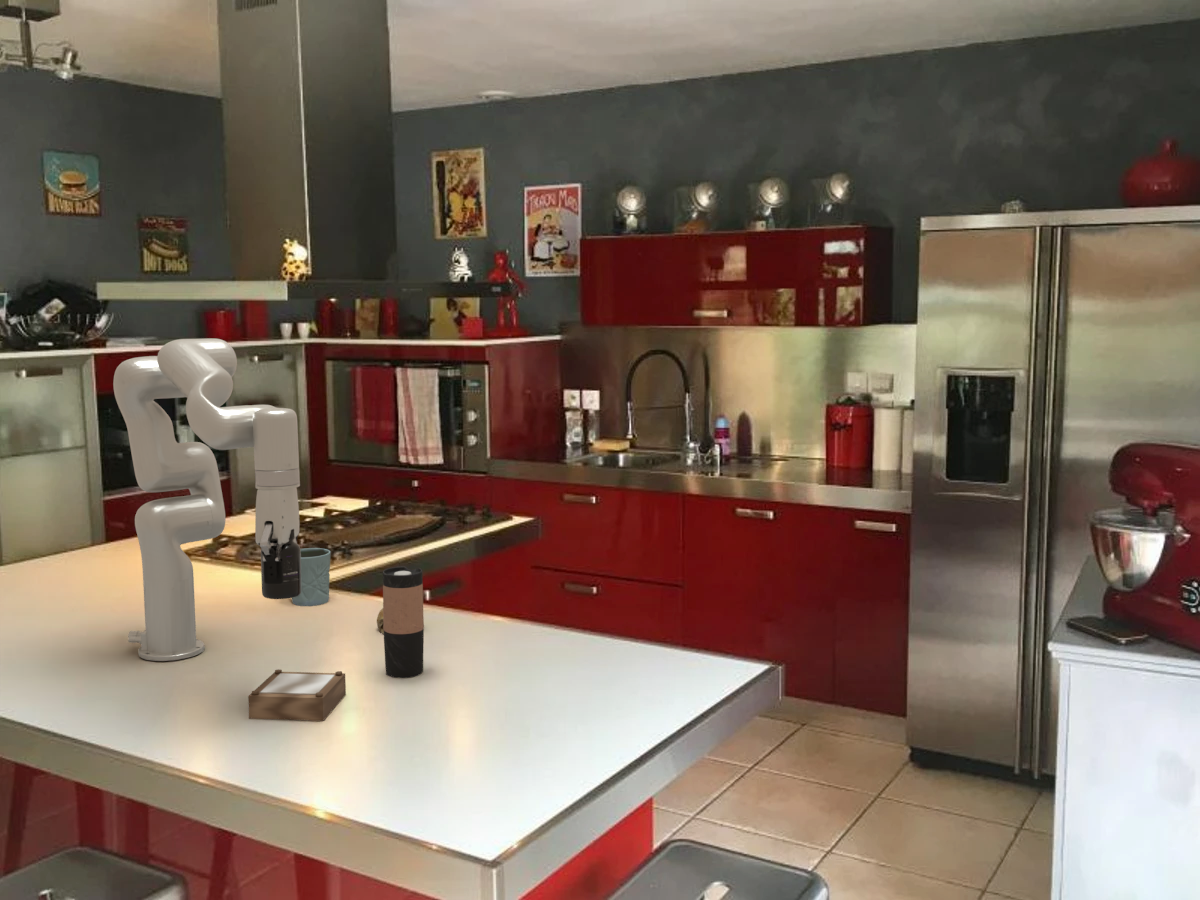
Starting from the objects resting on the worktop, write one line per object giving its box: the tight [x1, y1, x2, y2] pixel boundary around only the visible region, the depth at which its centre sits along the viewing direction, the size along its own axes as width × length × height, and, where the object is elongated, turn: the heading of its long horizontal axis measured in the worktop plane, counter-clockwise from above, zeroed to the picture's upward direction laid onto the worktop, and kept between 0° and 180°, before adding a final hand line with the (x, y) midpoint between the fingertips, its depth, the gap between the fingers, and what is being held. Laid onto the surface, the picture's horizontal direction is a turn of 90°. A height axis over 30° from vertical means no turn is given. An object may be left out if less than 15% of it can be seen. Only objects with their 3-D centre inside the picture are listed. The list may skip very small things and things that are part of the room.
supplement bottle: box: [260, 529, 302, 600], centre depth 201 cm, size 7×7×12 cm
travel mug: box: [382, 566, 425, 679], centre depth 218 cm, size 8×8×20 cm
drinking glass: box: [291, 547, 331, 607], centre depth 269 cm, size 10×10×12 cm
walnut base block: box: [247, 669, 347, 722], centre depth 200 cm, size 13×13×4 cm
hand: (281, 577), depth 201 cm, fingers closed on supplement bottle, 6 cm apart
